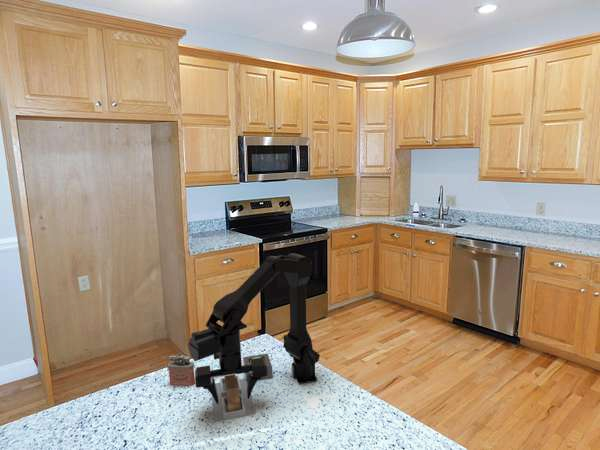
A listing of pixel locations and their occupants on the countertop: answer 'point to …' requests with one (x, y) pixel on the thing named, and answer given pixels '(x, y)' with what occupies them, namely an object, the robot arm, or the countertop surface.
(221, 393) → the grey socket board
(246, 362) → the button box
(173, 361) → the lighter
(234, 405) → the billet
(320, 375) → the countertop surface
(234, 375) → the billet
